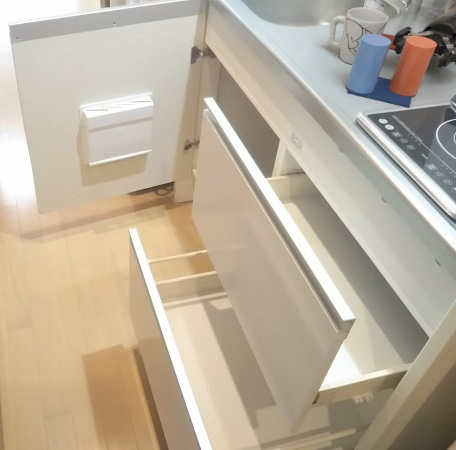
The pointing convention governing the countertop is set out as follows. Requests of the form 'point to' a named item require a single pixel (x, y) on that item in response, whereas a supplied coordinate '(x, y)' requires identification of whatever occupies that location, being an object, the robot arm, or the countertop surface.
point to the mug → (356, 29)
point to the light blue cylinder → (368, 63)
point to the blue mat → (385, 94)
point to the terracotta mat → (390, 39)
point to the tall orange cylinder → (412, 65)
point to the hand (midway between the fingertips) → (419, 56)
